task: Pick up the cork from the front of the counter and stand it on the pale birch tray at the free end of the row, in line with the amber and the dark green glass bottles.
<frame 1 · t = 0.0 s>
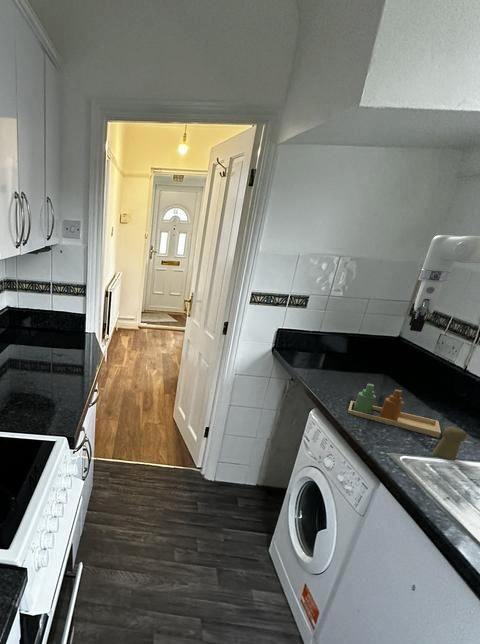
hand: (414, 328, 140), 33 cm above the counter, tool pointing down, fingers open, 9 cm apart
amber bottle: (388, 418, 151), resting on tray
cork: (440, 461, 125), on the counter
tray: (390, 420, 151), on the counter
green bottle: (361, 411, 155), resting on tray
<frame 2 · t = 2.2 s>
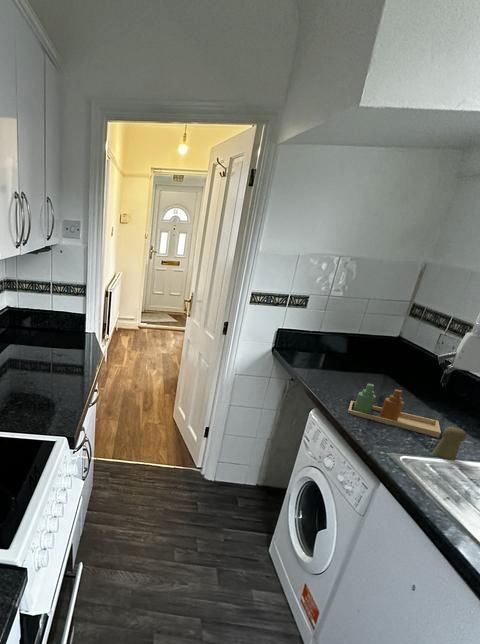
hand: (464, 389, 119), 22 cm above the counter, tool pointing down, fingers open, 9 cm apart
nothing on the counter moved.
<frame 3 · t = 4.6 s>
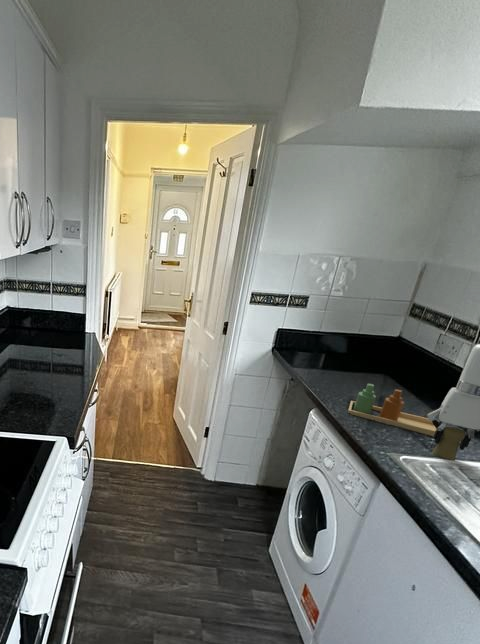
hand: (448, 444, 123), 6 cm above the counter, tool pointing down, fingers closed on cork, 5 cm apart
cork: (440, 461, 125), on the counter, touching gripper
everything else where it was.
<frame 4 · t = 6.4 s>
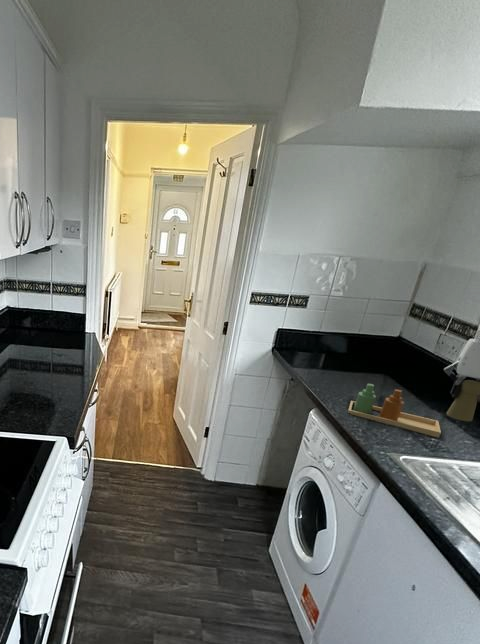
hand: (467, 398, 119), 20 cm above the counter, tool pointing down, fingers closed on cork, 5 cm apart
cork: (458, 417, 121), point 14 cm above the counter, touching gripper
everything else where it was.
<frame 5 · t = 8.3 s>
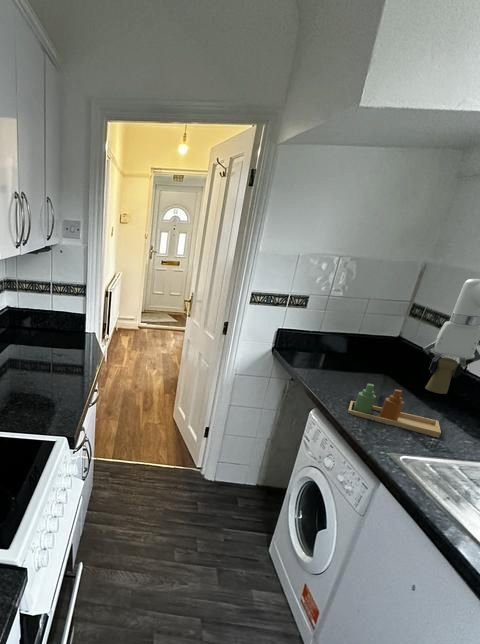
hand: (442, 374, 136), 21 cm above the counter, tool pointing down, fingers closed on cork, 5 cm apart
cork: (435, 390, 138), point 15 cm above the counter, touching gripper
everything else where it was.
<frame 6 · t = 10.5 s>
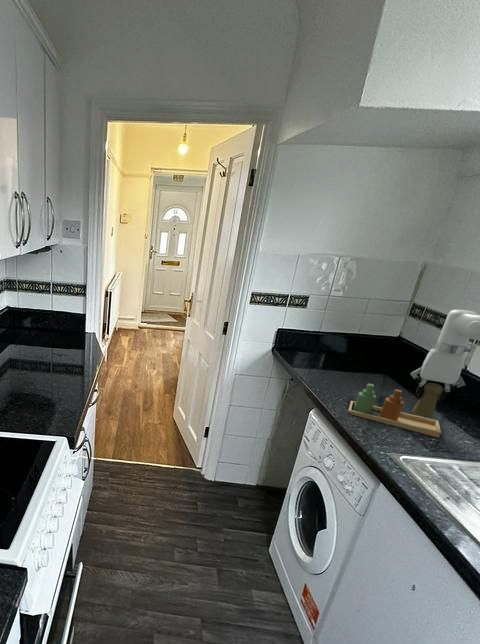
hand: (428, 398, 143), 11 cm above the counter, tool pointing down, fingers closed on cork, 5 cm apart
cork: (422, 413, 145), point 5 cm above the counter, touching gripper
everything else where it was.
when the fingers open (6 cm above the counter, at t = 12.2 s): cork stays where it is, resting on tray.
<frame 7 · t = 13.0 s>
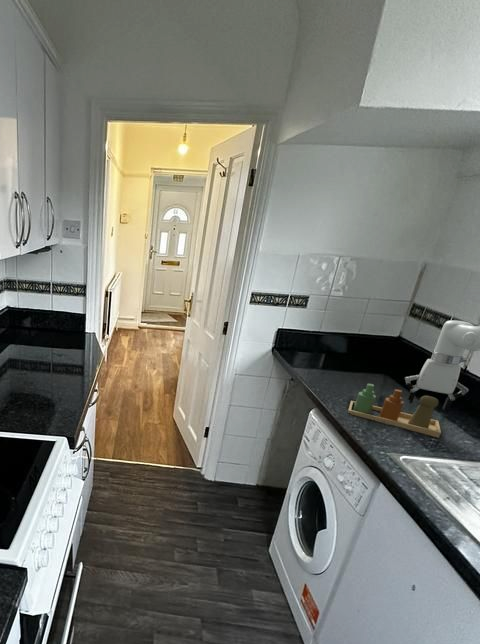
hand: (427, 405, 143), 8 cm above the counter, tool pointing down, fingers open, 9 cm apart
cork: (417, 425, 147), resting on tray
everything else where it was.
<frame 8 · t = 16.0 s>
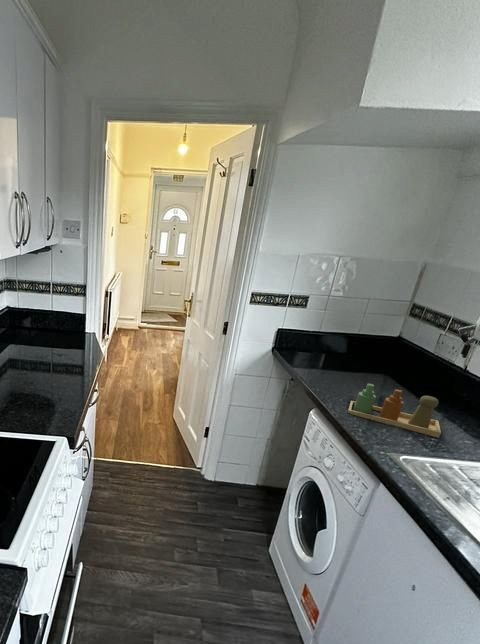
nothing on the counter moved.
at the end: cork 0.1 cm from the target spot in the tray, point 0.4 cm above the tray's base; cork tilted 2°; amber bottle moved 0.0 cm from its start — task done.
